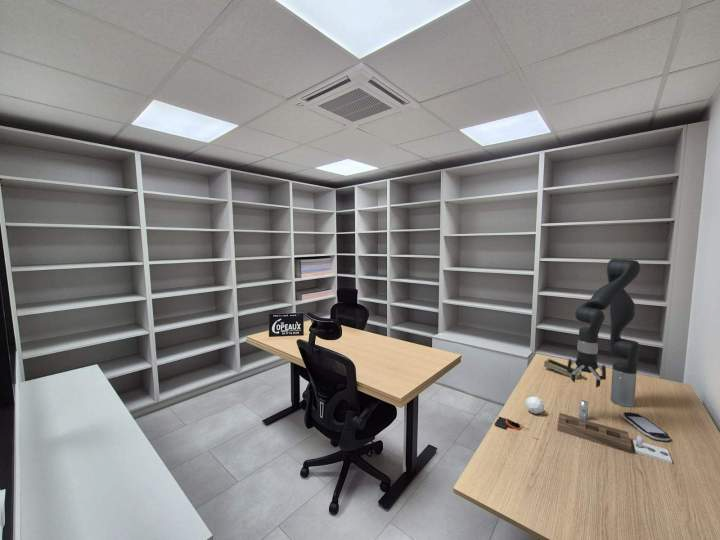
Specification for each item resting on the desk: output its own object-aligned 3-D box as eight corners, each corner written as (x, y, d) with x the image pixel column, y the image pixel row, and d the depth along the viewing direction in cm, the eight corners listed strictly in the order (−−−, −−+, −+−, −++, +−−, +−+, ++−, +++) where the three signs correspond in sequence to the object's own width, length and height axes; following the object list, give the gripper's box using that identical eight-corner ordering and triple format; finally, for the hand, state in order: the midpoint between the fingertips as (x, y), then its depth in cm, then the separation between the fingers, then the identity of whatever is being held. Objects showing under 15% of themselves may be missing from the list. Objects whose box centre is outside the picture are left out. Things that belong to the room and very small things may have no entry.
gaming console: (618, 415, 142) (618, 410, 142) (639, 417, 141) (639, 412, 141) (650, 441, 123) (650, 436, 123) (675, 444, 122) (675, 438, 122)
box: (546, 364, 198) (548, 357, 197) (587, 381, 182) (589, 373, 181) (542, 368, 193) (544, 361, 192) (583, 385, 177) (586, 378, 176)
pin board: (559, 418, 139) (559, 412, 139) (627, 438, 125) (628, 431, 125) (557, 430, 131) (557, 424, 130) (630, 453, 116) (631, 446, 116)
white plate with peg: (632, 441, 123) (633, 430, 122) (667, 451, 117) (668, 439, 116) (635, 452, 116) (636, 440, 116) (671, 463, 110) (672, 451, 110)
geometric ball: (532, 419, 144) (524, 408, 142) (529, 405, 151) (521, 394, 149) (549, 415, 140) (541, 404, 139) (544, 401, 147) (537, 390, 145)
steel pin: (578, 415, 142) (579, 399, 141) (587, 417, 140) (588, 401, 139) (578, 418, 140) (579, 402, 139) (587, 420, 138) (588, 404, 137)
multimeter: (545, 431, 131) (545, 424, 131) (537, 444, 122) (538, 436, 122) (502, 415, 143) (502, 408, 143) (493, 426, 135) (493, 419, 135)
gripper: (606, 351, 136) (604, 385, 137) (568, 345, 144) (567, 377, 146) (607, 356, 130) (605, 391, 131) (568, 349, 138) (566, 383, 140)
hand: (585, 384), depth 138 cm, fingers open, 8 cm apart
